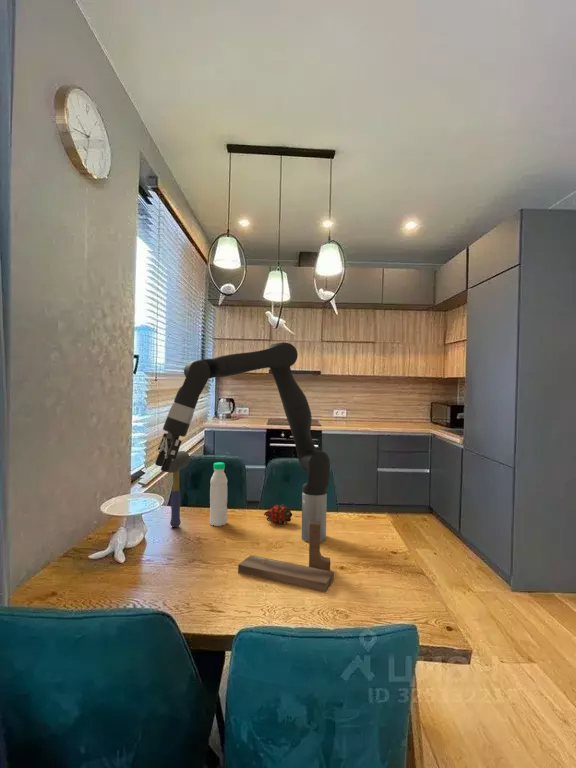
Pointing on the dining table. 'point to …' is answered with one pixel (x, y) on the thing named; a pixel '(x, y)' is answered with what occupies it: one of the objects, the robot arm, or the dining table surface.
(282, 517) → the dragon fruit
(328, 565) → the wooden block
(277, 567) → the walnut plank
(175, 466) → the rubber mallet
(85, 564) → the dining table surface
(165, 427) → the robot arm
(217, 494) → the water bottle
